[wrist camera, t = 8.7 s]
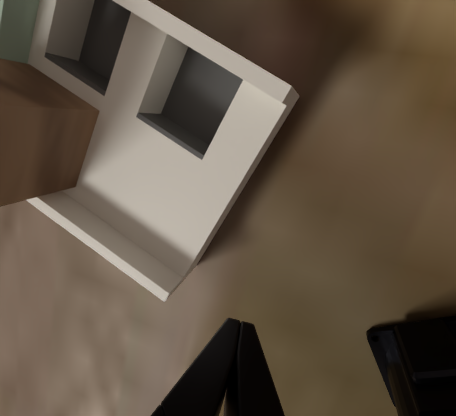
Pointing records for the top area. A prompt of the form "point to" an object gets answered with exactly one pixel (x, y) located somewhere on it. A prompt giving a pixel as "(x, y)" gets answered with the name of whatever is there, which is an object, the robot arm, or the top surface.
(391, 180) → the top surface
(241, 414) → the robot arm
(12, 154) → the walnut block
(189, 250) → the box
